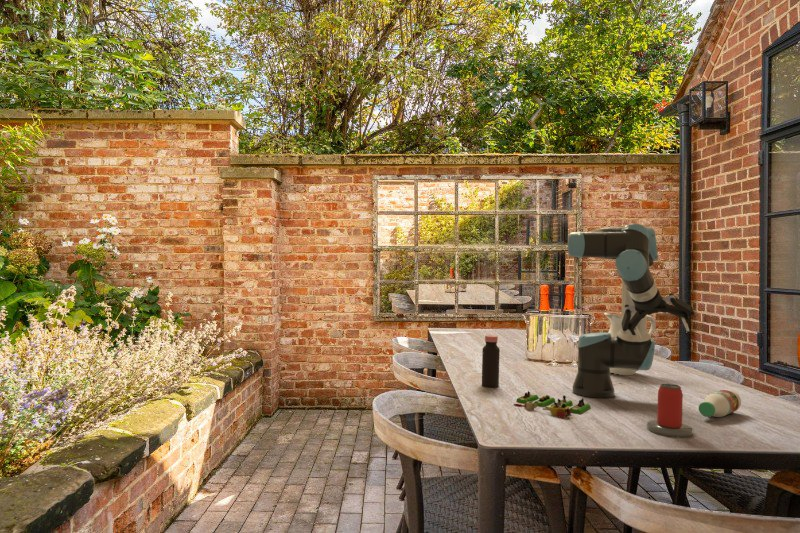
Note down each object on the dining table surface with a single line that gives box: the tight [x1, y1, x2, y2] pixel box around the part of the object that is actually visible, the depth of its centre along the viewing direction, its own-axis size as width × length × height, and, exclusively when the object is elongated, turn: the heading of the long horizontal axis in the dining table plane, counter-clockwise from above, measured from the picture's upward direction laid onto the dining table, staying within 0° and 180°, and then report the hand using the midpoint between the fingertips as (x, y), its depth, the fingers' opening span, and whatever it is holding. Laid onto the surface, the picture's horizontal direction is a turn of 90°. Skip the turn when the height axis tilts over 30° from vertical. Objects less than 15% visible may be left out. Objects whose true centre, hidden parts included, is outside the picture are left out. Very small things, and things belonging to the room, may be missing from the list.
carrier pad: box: [646, 419, 693, 438], centre depth 159 cm, size 12×12×2 cm
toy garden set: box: [513, 390, 591, 419], centre depth 183 cm, size 23×19×5 cm
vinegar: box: [481, 334, 500, 388], centre depth 215 cm, size 7×7×20 cm
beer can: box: [656, 383, 684, 429], centre depth 159 cm, size 7×7×12 cm
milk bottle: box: [698, 388, 742, 418], centre depth 177 cm, size 8×8×20 cm
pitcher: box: [603, 312, 657, 376], centre depth 248 cm, size 24×17×28 cm
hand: (663, 333), depth 165 cm, fingers open, 13 cm apart
